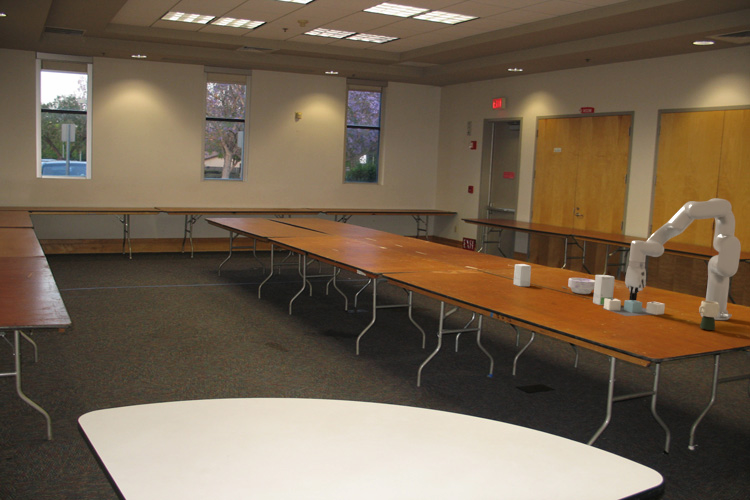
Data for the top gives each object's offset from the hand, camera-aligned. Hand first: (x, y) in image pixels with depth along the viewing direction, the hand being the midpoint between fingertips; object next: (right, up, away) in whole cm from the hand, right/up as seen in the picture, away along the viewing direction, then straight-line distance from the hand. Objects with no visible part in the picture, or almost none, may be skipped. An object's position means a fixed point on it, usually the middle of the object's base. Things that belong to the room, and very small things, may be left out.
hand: (632, 300), depth 336 cm
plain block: (0, -6, +1) cm, 6 cm away
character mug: (+22, -11, -32) cm, 41 cm away
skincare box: (-10, -4, +17) cm, 20 cm away
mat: (0, -6, +1) cm, 6 cm away
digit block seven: (-10, -5, +3) cm, 11 cm away
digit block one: (+11, -6, -2) cm, 13 cm away
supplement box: (-42, +4, +65) cm, 78 cm away
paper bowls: (-11, 0, +49) cm, 50 cm away
